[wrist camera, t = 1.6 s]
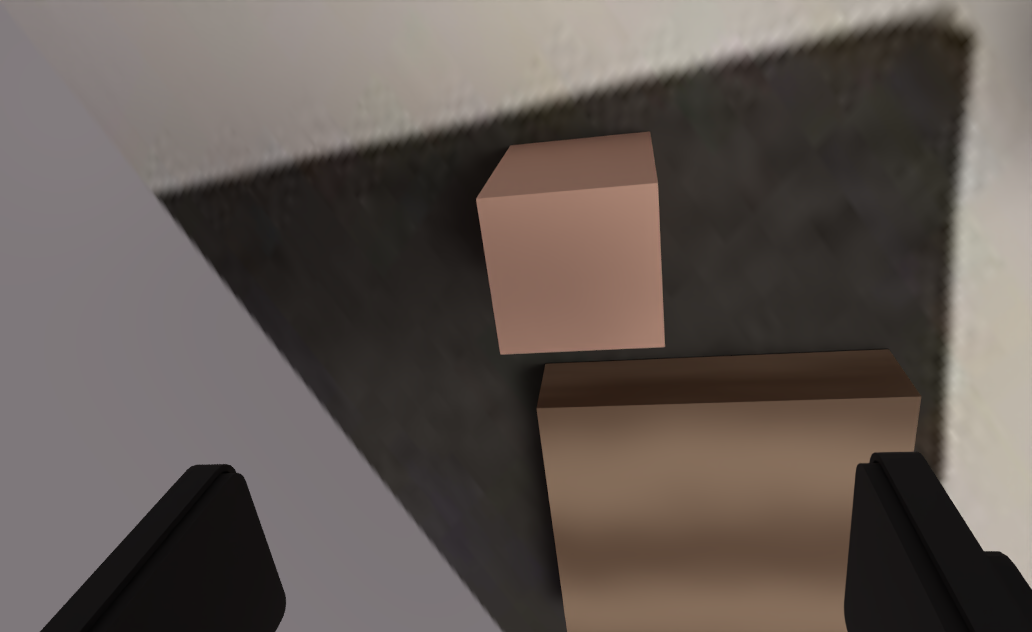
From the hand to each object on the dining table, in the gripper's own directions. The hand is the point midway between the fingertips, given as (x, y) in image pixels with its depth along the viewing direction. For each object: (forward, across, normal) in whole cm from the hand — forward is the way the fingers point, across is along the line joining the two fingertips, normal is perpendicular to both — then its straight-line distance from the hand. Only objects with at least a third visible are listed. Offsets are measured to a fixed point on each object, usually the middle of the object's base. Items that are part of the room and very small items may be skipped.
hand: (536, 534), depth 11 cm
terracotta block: (+15, 0, -1) cm, 15 cm away
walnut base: (+15, -4, +11) cm, 19 cm away
